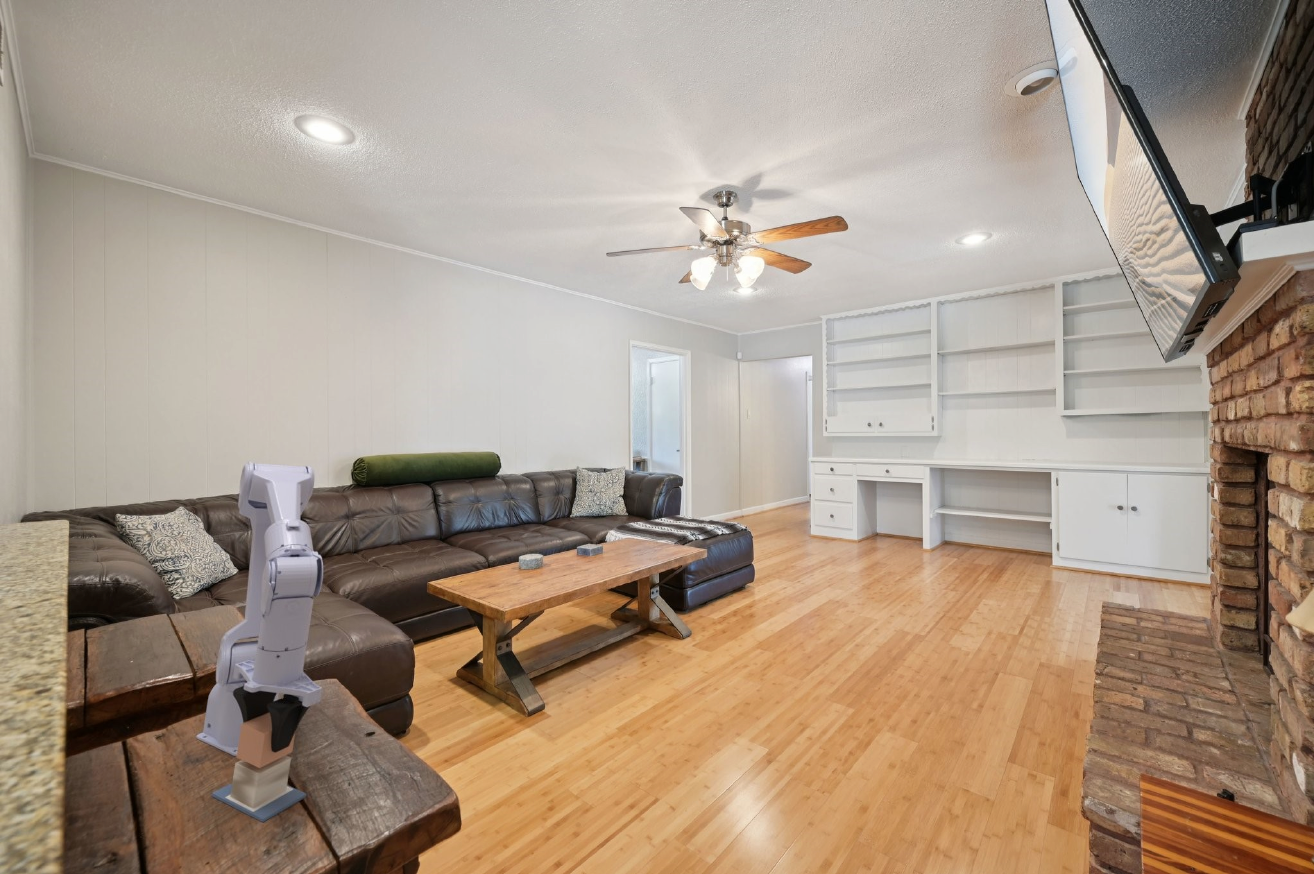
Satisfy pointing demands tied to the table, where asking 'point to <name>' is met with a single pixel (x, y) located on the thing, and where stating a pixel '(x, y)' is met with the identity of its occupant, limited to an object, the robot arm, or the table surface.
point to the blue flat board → (264, 809)
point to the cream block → (259, 781)
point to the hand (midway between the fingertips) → (267, 742)
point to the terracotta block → (259, 742)
